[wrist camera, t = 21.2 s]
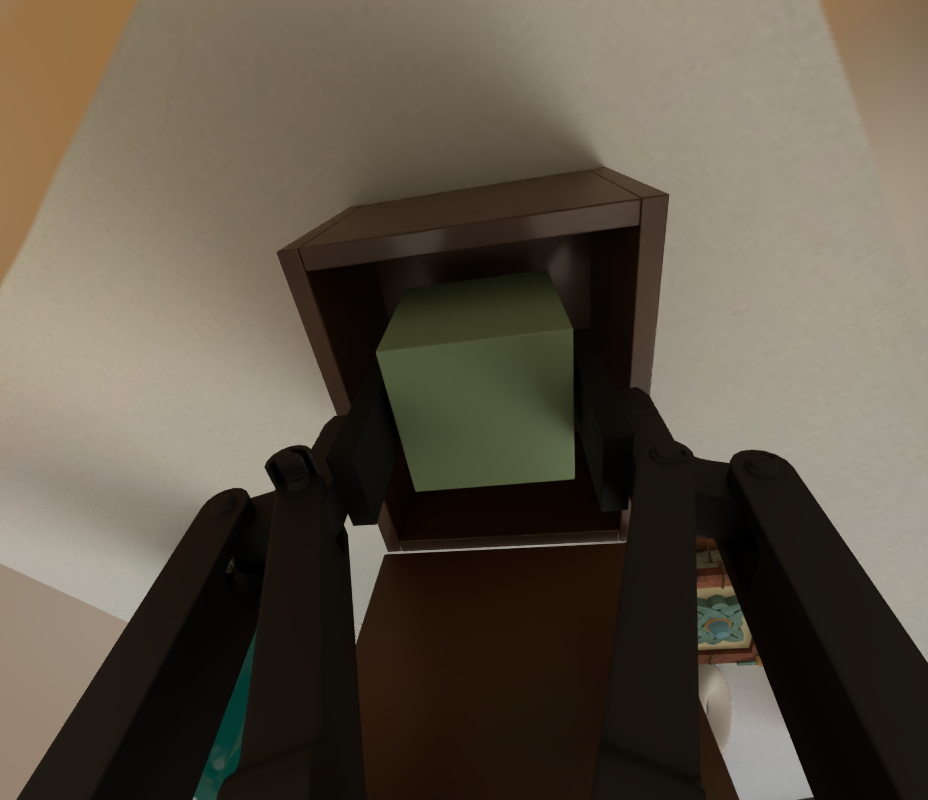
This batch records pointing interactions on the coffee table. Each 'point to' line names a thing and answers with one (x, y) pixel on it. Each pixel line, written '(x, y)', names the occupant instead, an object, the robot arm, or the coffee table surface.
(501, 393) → the block
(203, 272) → the coffee table surface
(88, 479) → the coffee table surface
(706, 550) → the decorative book
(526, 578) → the bin lid
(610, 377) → the bin
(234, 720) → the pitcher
